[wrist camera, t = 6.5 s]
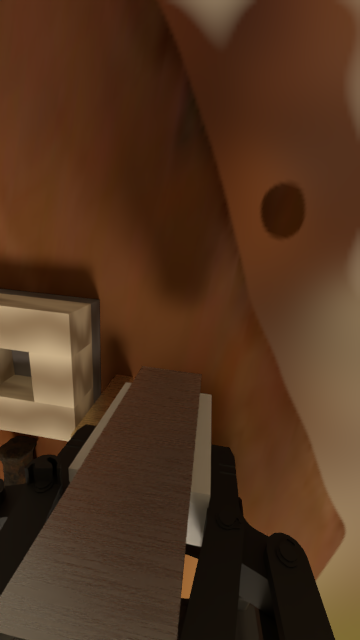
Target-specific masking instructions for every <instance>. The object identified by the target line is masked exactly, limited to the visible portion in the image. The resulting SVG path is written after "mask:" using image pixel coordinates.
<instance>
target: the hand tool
mask: <svg viewBox="0 0 360 640" xmlns="http://www.w3.org/2000/svg"><path fill="white" fill-rule="evenodd" d="M36 445H37V440H36V439H34V438H29V437H25V436H17V437H14V438H12V439H10V440H9V441H8V442H7V443H5V444H4V445H2V446H1V447H0V460H1V461H2V463H3V472H4V481H3V482H4V486H9V485H17V484H24V483H26V477H25V469H24V468H25V467H26V466H27V465H28V464H29V462H31V461H32V460H34V459H33V448H34V447H35V446H36Z"/></svg>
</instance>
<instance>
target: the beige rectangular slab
mask: <svg viewBox="0 0 360 640" xmlns="http://www.w3.org/2000/svg"><path fill="white" fill-rule="evenodd" d="M126 382H128V383H132V382H133V376H126V375H119V374H116V376H115V377H114V378H113V380H112V381H111V382H110V384H109V385H108V386H107V388H106V389H105V390H104V391H103V393H102V394H101V395H100V397H99V398H98V399H97V401H96V402H95V403H94V405H93V406H92V407H91V409H90V410H89V411H88V412H87V414H86V415H85V416H84V418H83V419H82V420H81V422H80V423H79V424H78V426H77V427H76V428H75V430H74V431H73V432H72V434H71V437H72V436H73V435H74V433H75V432H76V431H77V430H78V429H79V428H81V427H82V426H84V425H85V424H88V425H94V426H97V425H98V423H99V422H100V420H101V419H102V417H103V416H104V414H105V413H106V411H107V410H108V408H109V407H110V405H111V404H112V402H113V401H114V399H115V398H116V396H117V395H118V393H119V392H120V390H121V389H122V387H123V386H124V384H125V383H126Z"/></svg>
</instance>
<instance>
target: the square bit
mask: <svg viewBox="0 0 360 640" xmlns="http://www.w3.org/2000/svg"><path fill="white" fill-rule="evenodd" d="M201 377H202V374H195V373H188V372H181V371H173V370H166V369H159V368H152V367H145V366H142V368H141V369H140V371H139V373H138V374H137V376H136V378H135V379H134V381H133V382H132V384H131V386H130V387H129V389H128V390H127V392H126V394H125V395H124V397H123V399H122V400H121V402H120V403H119V405H118V407H117V408H116V410H115V412H114V413H113V415H112V416H111V418H110V420H109V421H108V423H107V424H106V426H105V428H104V429H103V431H102V433H101V434H100V436H99V437H98V439H97V441H96V442H95V444H94V445H93V447H92V449H91V450H90V452H89V454H88V455H87V457H86V458H85V460H84V462H83V463H82V465H81V466H80V468H79V470H78V471H77V473H76V475H75V476H74V478H73V479H72V481H71V483H70V484H69V486H68V488H67V489H66V491H65V492H64V494H63V496H62V497H61V499H60V500H59V502H58V504H57V505H56V507H55V509H54V510H53V512H52V513H51V515H50V517H49V518H48V520H47V521H46V523H45V525H44V526H43V528H42V530H41V531H40V533H39V534H38V536H37V538H36V539H35V541H34V542H33V544H32V546H31V547H30V549H29V551H28V552H27V554H26V555H25V557H24V559H23V560H22V562H21V564H20V565H19V567H18V568H17V570H16V572H15V573H14V575H13V576H12V578H11V580H10V581H9V583H8V585H7V586H6V588H5V589H4V591H3V593H2V594H1V596H0V640H177V633H178V622H179V611H180V601H181V590H182V579H183V569H184V558H185V547H186V537H187V526H188V515H189V505H190V494H191V483H192V473H193V462H194V451H195V441H196V430H197V419H198V409H199V398H200V387H201Z"/></svg>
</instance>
